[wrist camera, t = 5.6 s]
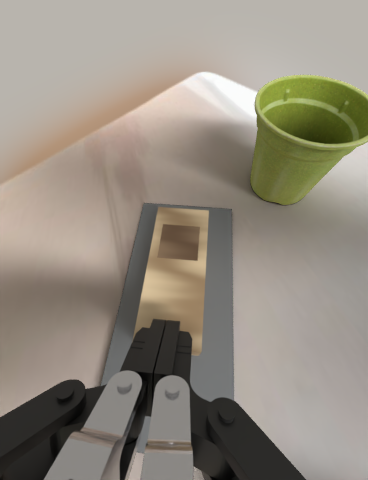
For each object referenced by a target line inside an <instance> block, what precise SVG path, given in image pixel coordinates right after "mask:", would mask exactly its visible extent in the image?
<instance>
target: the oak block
mask: <svg viewBox="0 0 368 480" xmlns="http://www.w3.org/2000/svg"><path fill="white" fill-rule="evenodd" d="M208 218H209V210H195V209H181V208H167V207H158V212H157V217H156V222H155V227H154V232H153V238H152V243H151V248H150V253H149V258H148V263H147V269H146V274H145V279H144V284H143V289H142V294H141V300H140V305H139V310H138V315H137V320H136V325H135V331H134V336H133V339H134V337H135V334H136V333H137V332H138V331H139V330H140V329H141V328H142V327H145V328H150V326H151V323H152V320H153V319H163V320H174V321H180V331H186V332H189V333H190V335H191V337H192V354H191V355H195V356H199V355H200V353H201V352H202V333H203V314H204V295H205V275H206V256H207V237H208ZM132 342H133V341H132Z"/></svg>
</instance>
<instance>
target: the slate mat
mask: <svg viewBox="0 0 368 480" xmlns="http://www.w3.org/2000/svg"><path fill="white" fill-rule="evenodd" d="M158 207H167V208H181V209H195V210H209V218H208V237H207V256H206V275H205V295H204V314H203V333H202V352H201V353H200V355H199V356H195V355H191V371H190V384H191V387H192V389H193V391H194V392H195V393H196V394H197V395H198V396H200V397H201V398H203V399H205V400H207V401H209V402H211V401H213V400H214V399H216V398H220V397H225V398H229V399H231V400H233V401H234V356H233V265H232V209H224V208H210V207H195V206H181V205H166V204H152V203H144V205H143V209H142V213H141V217H140V222H139V226H138V230H137V234H136V239H135V243H134V247H133V251H132V255H131V260H130V264H129V268H128V272H127V277H126V281H125V285H124V289H123V294H122V298H121V302H120V306H119V310H118V315H117V319H116V323H115V327H114V332H113V336H112V340H111V344H110V348H109V353H108V357H107V361H106V365H105V370H104V374H103V378H102V382H101V386H103V385H106V384H107V383H108V381H109V380H110V379H111V378H112V377H113V376H114V375H115V374H117V373H119V372H120V369H121V367H122V365H123V362H124V360H125V358H126V355H127V353H128V351H129V348H130V346H131V344H132V341H133V336H134V331H135V325H136V320H137V315H138V310H139V305H140V300H141V294H142V289H143V284H144V279H145V274H146V269H147V263H148V258H149V253H150V248H151V243H152V238H153V232H154V227H155V222H156V217H157V212H158ZM150 421H151V417H148V416H145V420H144V424H143V428H142V433H141V439H140V442H139V445H138V449H137V452H138V453H144V452H145V446H146V443H147V442H148V435H149V428H150Z"/></svg>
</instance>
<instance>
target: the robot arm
mask: <svg viewBox="0 0 368 480" xmlns="http://www.w3.org/2000/svg"><path fill="white" fill-rule="evenodd" d="M191 354H192V337H191V335H190V333H189V332H186V331H180V321H174V320H163V319H153V320H152V323H151V326H150V328H145V327H142V328H141V329H140V330H139V331H138V332H137V333H136V334H135V337H134V339H133V342H132V344H131V346H130V348H129V351H128V353H127V355H126V358H125V360H124V362H123V365H122V367H121V369H120V372H119V373H117V374H115V375H114V376H113V377H112V378H111V379H110V380H109V381H108V383H107V384H106V385H103V386H100V387H95V388H89V389H85V386H84V384H83V383H82V382H81V381H79V380H67V381H63V382H61V383H59V384H57V385H56V386H54V387H52V388H50V389H49V390H47V391H45V392H43V393H42V394H40V395H38V396H37V397H35V398H33V399H31V400H30V401H28V402H26V403H24V404H23V405H21V406H19V407H17V408H16V409H14V410H12V411H11V412H9V413H7V414H5V415H4V416H2V417H0V480H128V478H129V475H130V471H131V468H132V465H133V462H134V458H135V455H136V452H137V449H138V445H139V442H140V439H141V433H142V428H143V424H144V420H145V416H148V417H151V421H150V428H149V435H148V442H147V443H146V446H145V452H144V458H143V465H142V472H141V479H140V480H194V475H193V466H194V467H196V468H198V469H199V470H201V471H202V474H203V477H204V479H205V480H306V479H305V478H304V477H303V476H302V475H301V473H300V472H299V471H298V470H297V469H296V468H295V467H294V466H293V464H292V463H291V462H290V461H289V460H288V459H287V458H286V457H285V456H284V454H283V453H282V452H281V451H280V450H279V449H278V448H277V447H276V446H275V444H274V443H273V442H272V441H271V440H270V439H269V438H268V437H267V436H266V434H265V433H264V432H263V431H262V430H261V429H260V428H259V427H258V426H257V424H256V423H255V422H254V421H253V420H252V419H251V418H250V417H249V416H248V414H247V413H246V412H245V411H244V410H243V409H242V408H241V407H240V406H239V405H238V404H237V403H236V402H235V401H233V400H231V399H229V398H225V397H220V398H216V399H214V400H213V401H211V402H209V401H207V400H205V399H203V398H201V397H200V396H198V395H197V394H196V393H195V392H194V391H193V389H192V387H191V384H190V371H191Z"/></svg>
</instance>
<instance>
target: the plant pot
mask: <svg viewBox="0 0 368 480" xmlns="http://www.w3.org/2000/svg"><path fill="white" fill-rule="evenodd" d="M255 111H256V114H257V127H258V131H257V138H256V144H255V151H254V157H253V163H252V169H251V176H250V183H251V187H252V189H253V190H254V192H255V193H256V194H257V195H258V196H259V197H261V198H262V199H264V200H266V201H270V202H276V203H279V204H281V205H289V204H293V203H296V202H298V201H300V200H301V199H302V198H303V197H304V196H305V195H306V194H307V193H308V192H309V191H310V190H311V189H312V188H313V187H314V186H315V185H316V184H317V183H318V182H319V181H320V180H321V179H322V178H323V177H324V176H325V175H326V174H327V173H328V172H329V171H330V170H331V169H332V168H333V167H334V166H335V165H336V164H337V163H338V162H339V161H340V160H341V159H342V158H343V157H344V156H345V155H347V154H349V153H350V152H352V151H353V150H354V149H355V148H356V147H358V146H361V145H363V144H365V143H366V142H368V95H367V94H366V93H364V92H363V91H361V90H360V89H358V88H356V87H354V86H352V85H350V84H348V83H345V82H342V81H339V80H335V79H332V78H327V77H322V76H313V75H293V76H287V77H281V78H278V79H275V80H273V81H271V82H269V83H267V84H265V85H264V86H263V87H262V88H261V89H260V90H259V91H258V93H257V95H256V99H255Z"/></svg>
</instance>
